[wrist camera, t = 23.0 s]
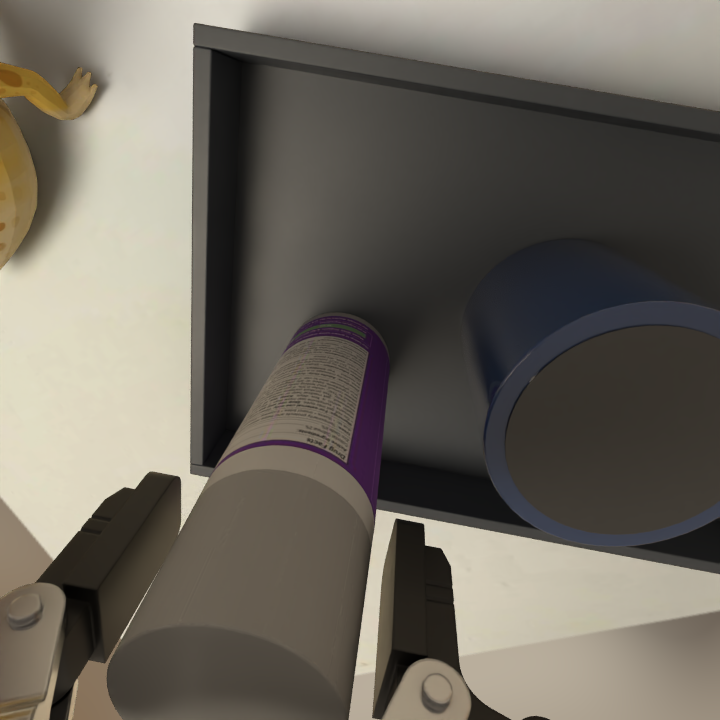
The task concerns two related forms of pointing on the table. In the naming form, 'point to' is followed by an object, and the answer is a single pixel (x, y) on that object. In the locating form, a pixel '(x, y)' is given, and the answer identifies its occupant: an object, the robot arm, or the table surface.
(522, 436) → the blue saucepan
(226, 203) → the tray
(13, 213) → the toy
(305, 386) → the container
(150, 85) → the table surface
